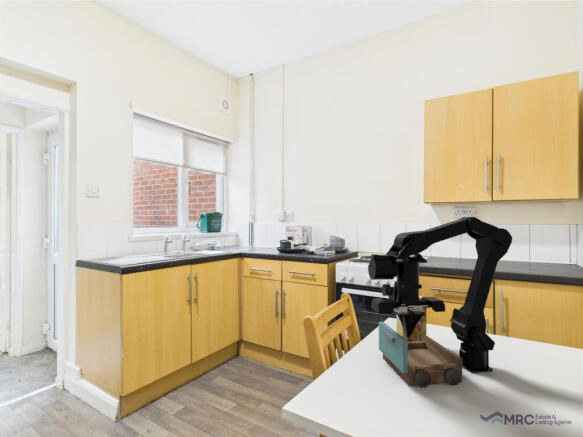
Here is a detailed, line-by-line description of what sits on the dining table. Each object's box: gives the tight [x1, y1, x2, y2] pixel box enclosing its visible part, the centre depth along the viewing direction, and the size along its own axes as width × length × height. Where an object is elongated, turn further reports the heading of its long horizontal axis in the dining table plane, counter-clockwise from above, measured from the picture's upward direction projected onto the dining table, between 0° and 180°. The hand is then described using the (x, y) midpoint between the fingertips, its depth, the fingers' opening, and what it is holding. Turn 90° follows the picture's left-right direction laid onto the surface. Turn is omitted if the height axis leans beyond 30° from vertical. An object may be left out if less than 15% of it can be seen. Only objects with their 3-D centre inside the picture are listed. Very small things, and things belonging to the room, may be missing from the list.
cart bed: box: [382, 335, 463, 389], centre depth 87 cm, size 14×18×6 cm
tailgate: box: [378, 321, 408, 373], centre depth 86 cm, size 2×15×8 cm, turn 7°
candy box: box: [395, 295, 428, 342], centre depth 105 cm, size 9×4×15 cm, turn 103°
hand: (407, 336), depth 86 cm, fingers closed
